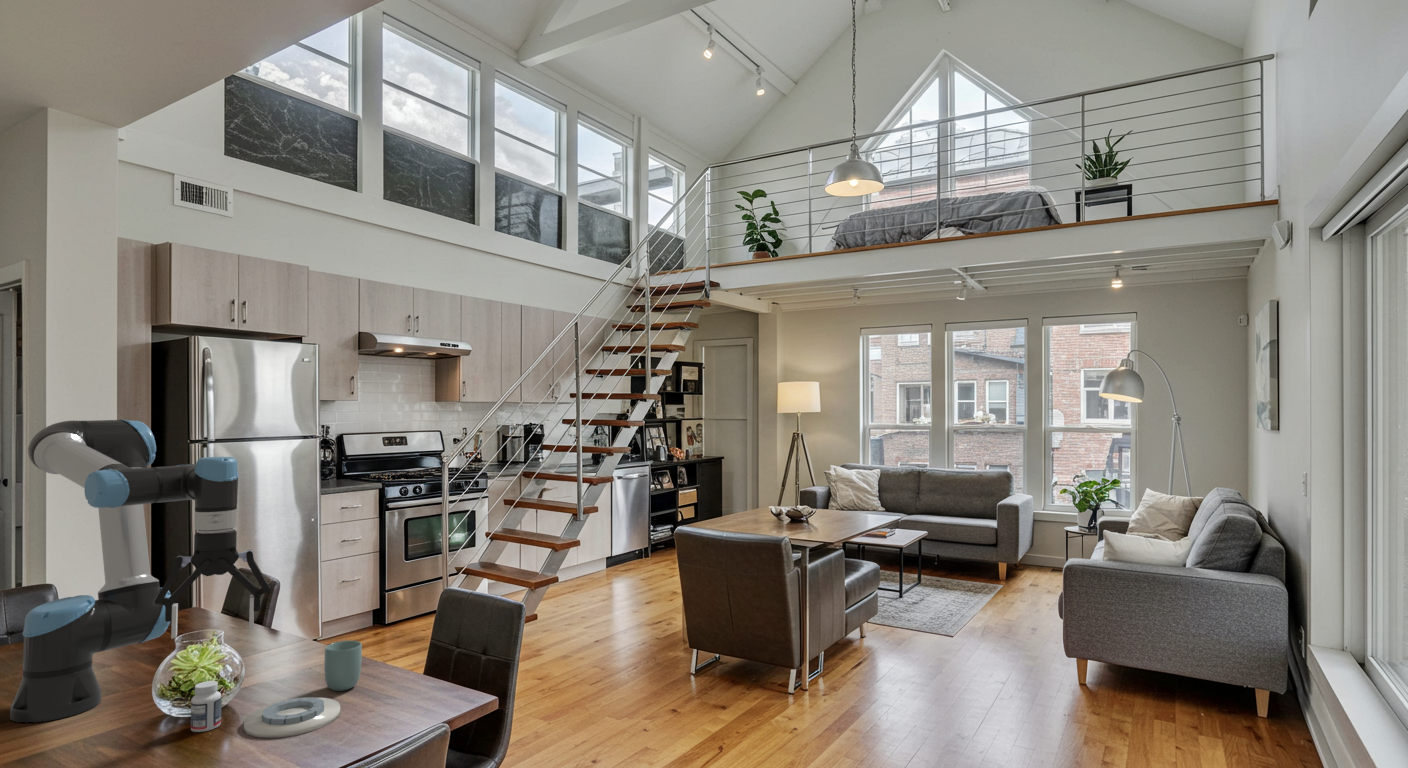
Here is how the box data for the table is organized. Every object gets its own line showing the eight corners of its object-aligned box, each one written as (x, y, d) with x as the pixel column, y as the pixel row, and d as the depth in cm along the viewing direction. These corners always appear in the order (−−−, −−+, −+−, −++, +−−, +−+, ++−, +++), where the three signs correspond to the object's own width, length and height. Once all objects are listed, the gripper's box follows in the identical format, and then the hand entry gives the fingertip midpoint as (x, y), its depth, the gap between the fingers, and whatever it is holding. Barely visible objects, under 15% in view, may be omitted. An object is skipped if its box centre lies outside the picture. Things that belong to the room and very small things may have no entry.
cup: (346, 695, 172) (347, 651, 173) (316, 692, 174) (317, 649, 174) (367, 683, 180) (368, 641, 180) (339, 680, 182) (340, 639, 182)
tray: (240, 745, 147) (240, 732, 147) (246, 712, 163) (247, 700, 163) (341, 727, 155) (342, 715, 155) (338, 697, 171) (339, 686, 171)
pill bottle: (215, 719, 159) (216, 677, 159) (224, 726, 155) (225, 683, 156) (186, 728, 155) (187, 684, 155) (195, 735, 151) (196, 690, 152)
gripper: (139, 538, 149) (137, 646, 148) (283, 527, 161) (281, 627, 160) (145, 532, 155) (142, 636, 154) (283, 523, 168) (281, 619, 167)
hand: (213, 632), depth 157 cm, fingers open, 13 cm apart
